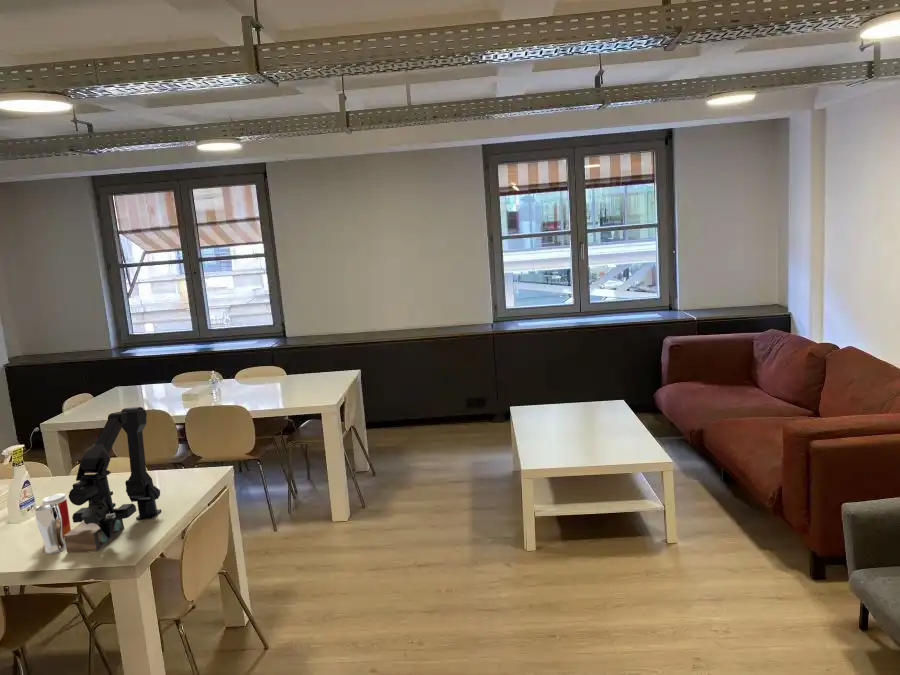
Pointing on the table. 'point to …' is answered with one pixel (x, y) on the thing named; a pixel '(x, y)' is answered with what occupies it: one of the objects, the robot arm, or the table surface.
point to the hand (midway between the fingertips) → (109, 537)
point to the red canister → (62, 504)
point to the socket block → (86, 538)
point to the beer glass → (50, 527)
